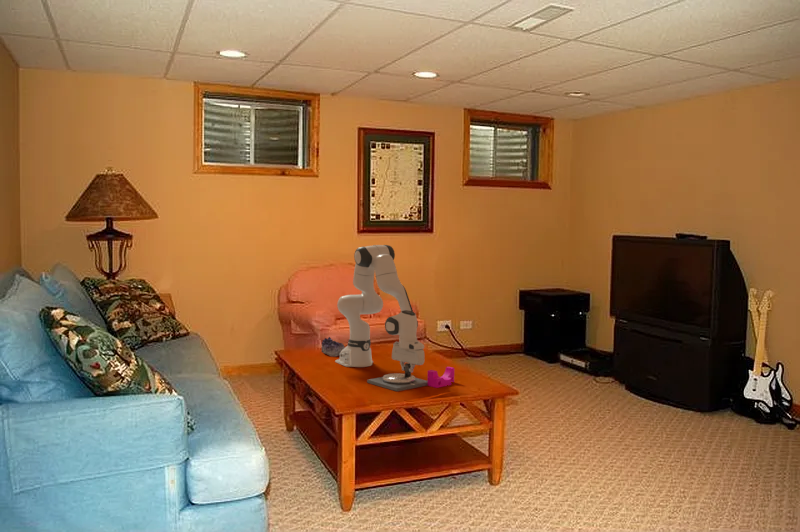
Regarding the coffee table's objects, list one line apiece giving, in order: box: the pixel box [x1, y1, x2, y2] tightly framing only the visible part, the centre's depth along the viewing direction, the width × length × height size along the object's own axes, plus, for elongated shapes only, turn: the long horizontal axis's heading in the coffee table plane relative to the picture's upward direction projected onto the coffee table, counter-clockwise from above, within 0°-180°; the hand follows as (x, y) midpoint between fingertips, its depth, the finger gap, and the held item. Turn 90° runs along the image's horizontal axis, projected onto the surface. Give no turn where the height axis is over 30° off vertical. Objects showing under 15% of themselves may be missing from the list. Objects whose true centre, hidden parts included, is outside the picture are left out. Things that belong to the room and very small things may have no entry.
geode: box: [320, 336, 346, 357], centre depth 391 cm, size 20×12×10 cm, turn 35°
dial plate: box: [366, 376, 428, 392], centre depth 322 cm, size 22×22×2 cm
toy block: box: [427, 366, 455, 389], centre depth 323 cm, size 15×6×8 cm, turn 133°
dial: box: [382, 362, 416, 384], centre depth 322 cm, size 16×16×8 cm
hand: (407, 371), depth 325 cm, fingers open, 4 cm apart
